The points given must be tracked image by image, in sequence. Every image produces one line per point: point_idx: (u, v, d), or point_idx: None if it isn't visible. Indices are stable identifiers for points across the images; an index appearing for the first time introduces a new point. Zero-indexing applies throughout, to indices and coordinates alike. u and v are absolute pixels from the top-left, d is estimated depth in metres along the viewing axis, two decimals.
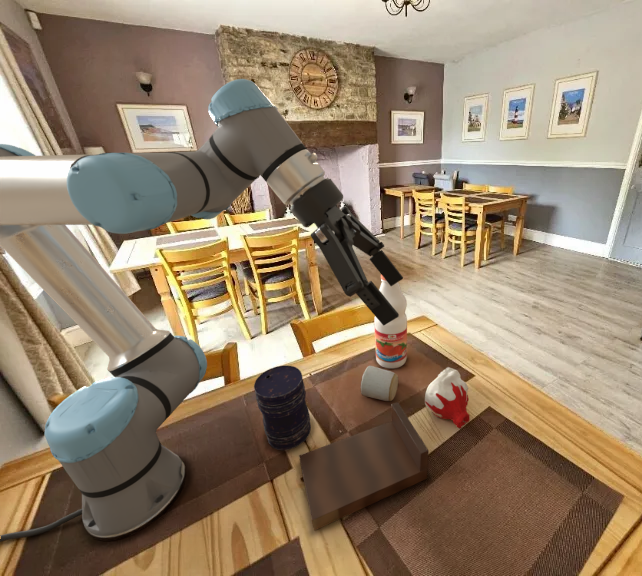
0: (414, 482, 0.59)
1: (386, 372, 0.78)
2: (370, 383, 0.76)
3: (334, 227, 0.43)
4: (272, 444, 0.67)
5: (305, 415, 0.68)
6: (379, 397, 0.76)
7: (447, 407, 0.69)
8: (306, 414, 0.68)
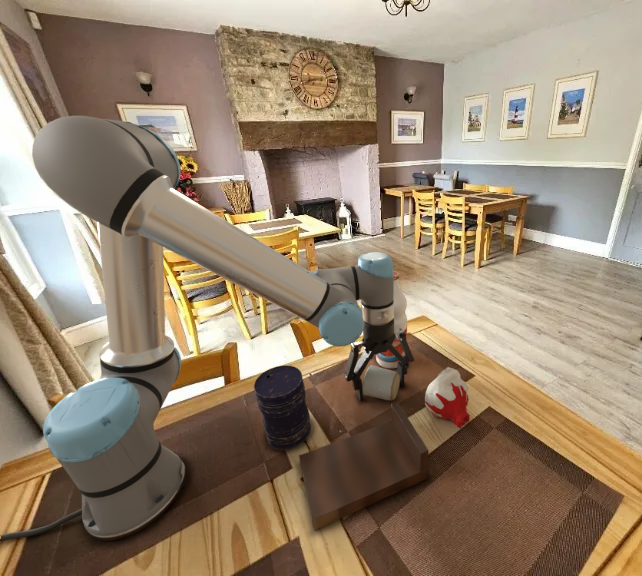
0: (414, 482, 0.59)
1: (388, 371, 0.78)
2: (372, 382, 0.76)
3: (366, 346, 0.73)
4: (272, 444, 0.67)
5: (305, 415, 0.68)
6: (381, 396, 0.76)
7: (447, 407, 0.69)
8: (306, 414, 0.68)
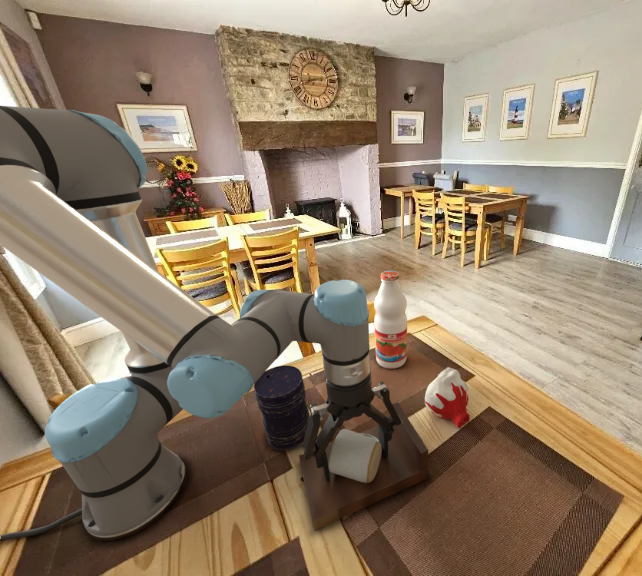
0: (414, 482, 0.59)
1: (364, 441, 0.56)
2: (341, 459, 0.54)
3: (331, 412, 0.51)
4: (272, 444, 0.67)
5: (305, 415, 0.68)
6: (354, 478, 0.55)
7: (447, 407, 0.69)
8: (306, 414, 0.68)
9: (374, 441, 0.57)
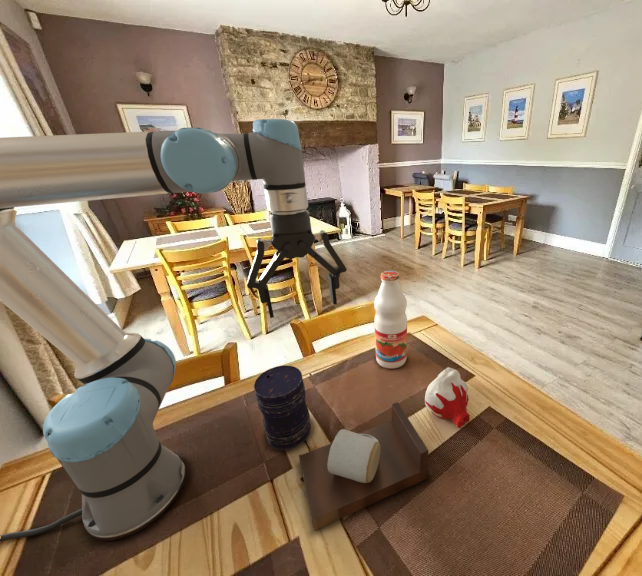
0: (414, 482, 0.59)
1: (363, 442, 0.56)
2: (340, 460, 0.54)
3: (275, 245, 0.60)
4: (272, 444, 0.67)
5: (305, 415, 0.68)
6: (353, 479, 0.55)
7: (447, 407, 0.69)
8: (306, 414, 0.68)
9: (373, 441, 0.57)
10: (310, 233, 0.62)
